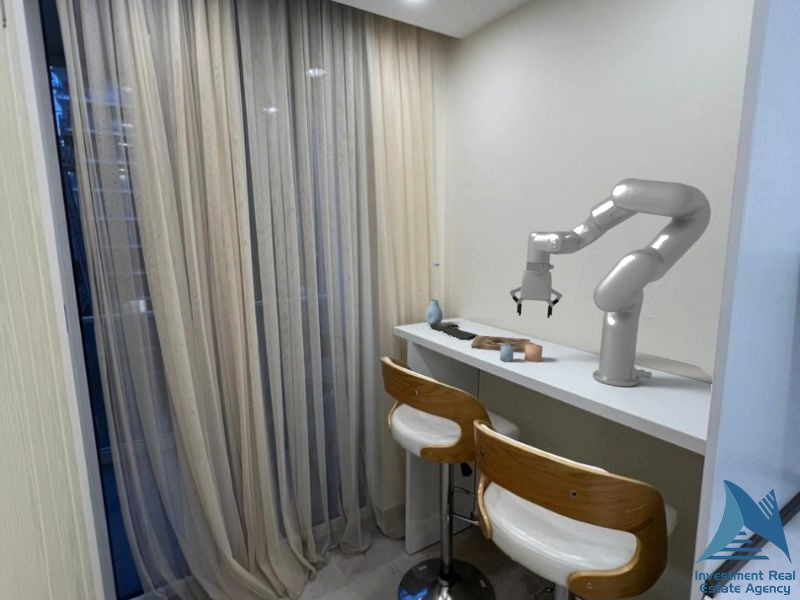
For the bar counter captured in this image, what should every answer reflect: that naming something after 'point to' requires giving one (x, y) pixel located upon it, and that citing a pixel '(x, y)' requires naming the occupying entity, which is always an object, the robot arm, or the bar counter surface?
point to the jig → (491, 341)
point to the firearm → (453, 331)
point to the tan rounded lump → (533, 353)
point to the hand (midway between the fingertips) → (533, 316)
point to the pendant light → (434, 309)
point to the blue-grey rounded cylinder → (506, 353)
